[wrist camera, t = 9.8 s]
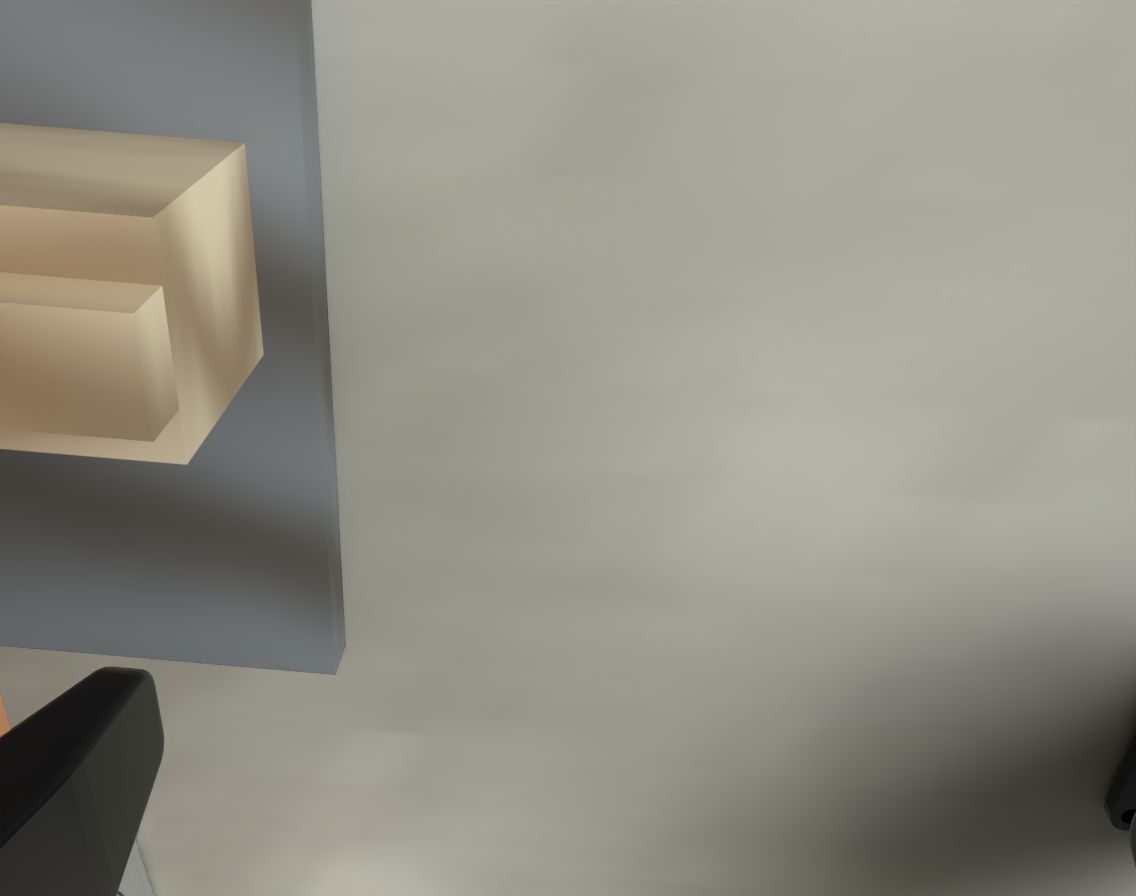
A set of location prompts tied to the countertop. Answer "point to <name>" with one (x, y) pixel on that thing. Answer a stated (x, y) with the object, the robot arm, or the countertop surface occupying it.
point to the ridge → (165, 336)
